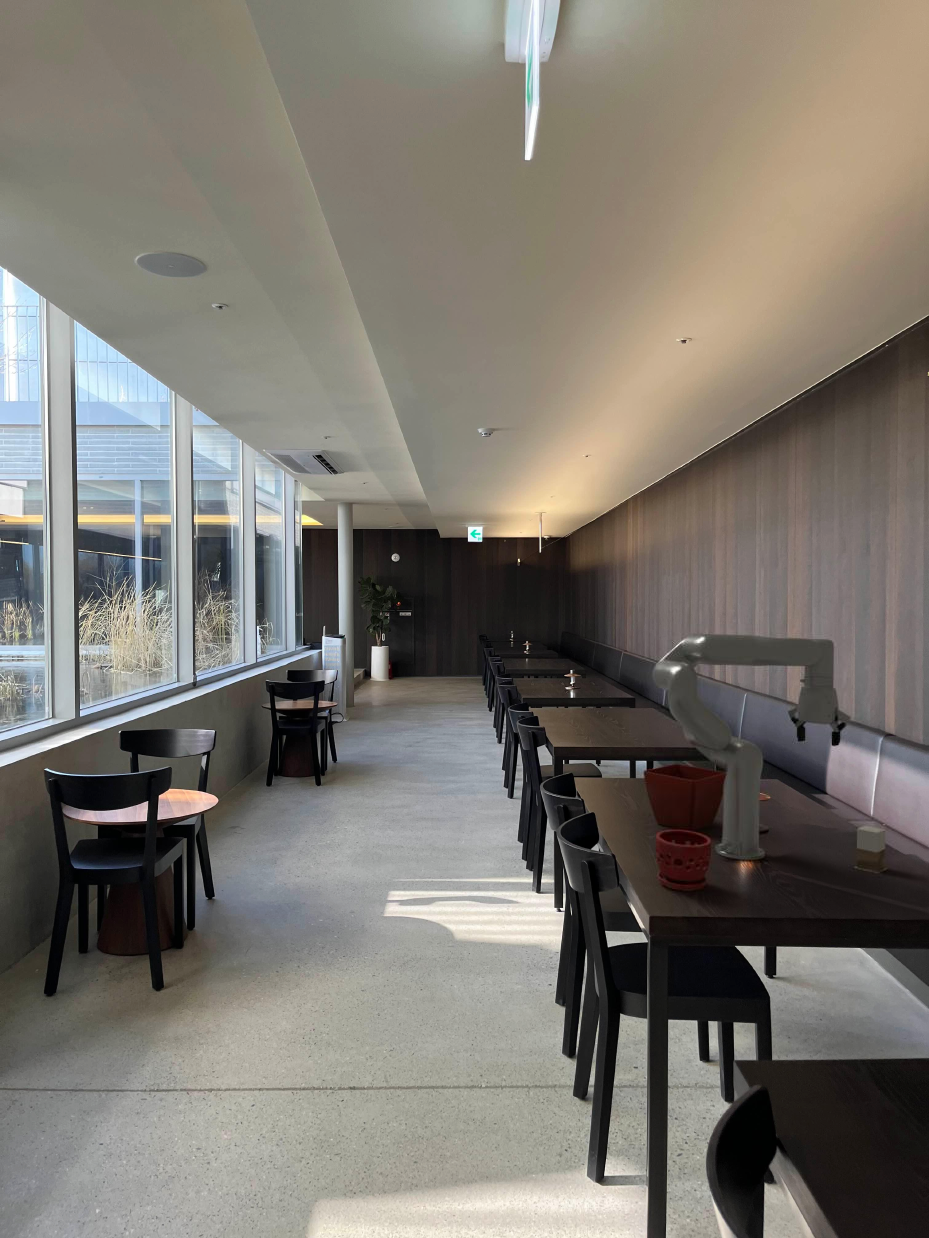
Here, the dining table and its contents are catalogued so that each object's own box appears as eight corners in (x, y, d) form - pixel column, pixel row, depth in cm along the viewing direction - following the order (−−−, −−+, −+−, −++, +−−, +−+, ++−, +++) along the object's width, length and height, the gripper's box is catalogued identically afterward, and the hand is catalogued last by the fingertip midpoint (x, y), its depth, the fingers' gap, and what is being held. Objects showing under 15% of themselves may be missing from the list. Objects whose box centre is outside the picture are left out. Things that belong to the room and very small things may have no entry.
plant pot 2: (644, 885, 196) (645, 836, 196) (673, 873, 205) (673, 826, 205) (693, 898, 186) (693, 847, 186) (720, 885, 196) (721, 836, 196)
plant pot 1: (694, 836, 240) (694, 780, 240) (641, 823, 254) (641, 770, 254) (728, 825, 253) (728, 772, 252) (675, 814, 267) (676, 763, 267)
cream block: (877, 852, 204) (877, 832, 204) (856, 848, 208) (857, 828, 208) (885, 848, 207) (885, 829, 207) (865, 844, 211) (865, 825, 211)
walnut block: (877, 872, 204) (877, 852, 204) (856, 867, 208) (857, 848, 208) (885, 868, 207) (885, 848, 207) (865, 863, 211) (865, 844, 211)
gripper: (783, 681, 230) (782, 740, 230) (843, 685, 217) (843, 748, 217) (795, 680, 235) (795, 738, 235) (856, 684, 222) (855, 746, 222)
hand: (818, 743), depth 226 cm, fingers open, 9 cm apart
